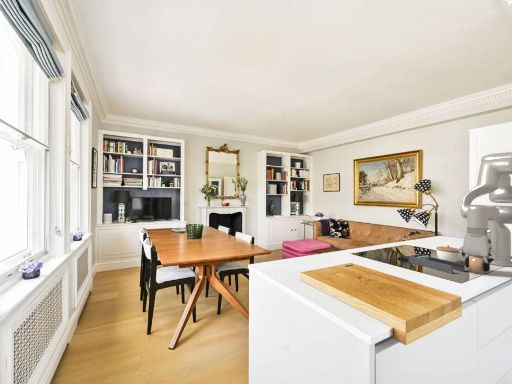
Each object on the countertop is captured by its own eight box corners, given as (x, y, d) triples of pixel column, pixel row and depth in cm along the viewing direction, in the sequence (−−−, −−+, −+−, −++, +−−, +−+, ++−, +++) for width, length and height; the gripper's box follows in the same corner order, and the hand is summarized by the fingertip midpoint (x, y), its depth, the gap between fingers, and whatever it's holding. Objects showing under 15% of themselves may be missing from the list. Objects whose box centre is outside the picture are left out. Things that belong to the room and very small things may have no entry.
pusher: (426, 262, 137) (426, 255, 137) (428, 262, 136) (428, 256, 136) (417, 263, 134) (417, 256, 134) (419, 263, 133) (419, 257, 133)
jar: (473, 270, 124) (473, 251, 124) (488, 274, 118) (488, 254, 118) (465, 271, 122) (465, 252, 122) (481, 275, 116) (481, 255, 116)
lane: (420, 260, 142) (420, 254, 142) (464, 271, 121) (464, 264, 121) (408, 262, 138) (408, 255, 138) (451, 273, 118) (451, 266, 118)
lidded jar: (461, 266, 131) (461, 248, 131) (435, 262, 137) (435, 245, 137) (460, 262, 139) (460, 245, 139) (436, 258, 146) (436, 242, 146)
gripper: (504, 233, 113) (504, 273, 113) (461, 228, 130) (461, 263, 129) (495, 234, 111) (495, 275, 110) (452, 229, 127) (452, 265, 127)
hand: (477, 268), depth 120 cm, fingers open, 6 cm apart
